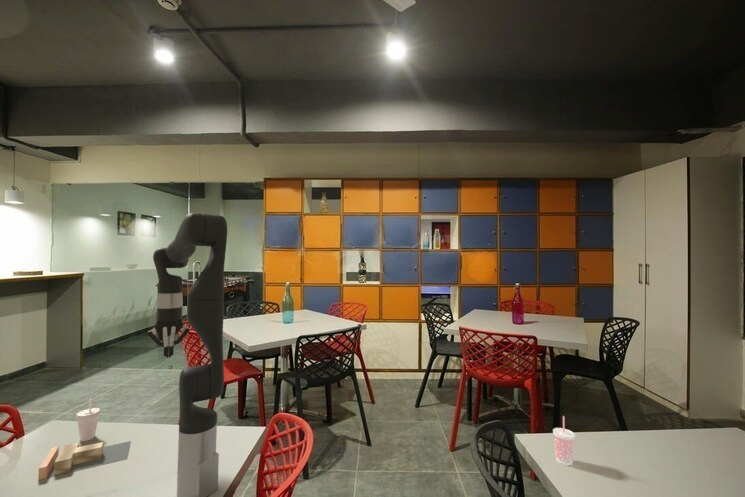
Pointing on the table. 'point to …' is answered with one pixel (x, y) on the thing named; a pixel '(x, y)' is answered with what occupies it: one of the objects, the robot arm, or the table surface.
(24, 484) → the table surface
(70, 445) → the t block
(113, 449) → the mat
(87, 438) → the smoothie
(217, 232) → the robot arm
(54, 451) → the rail
